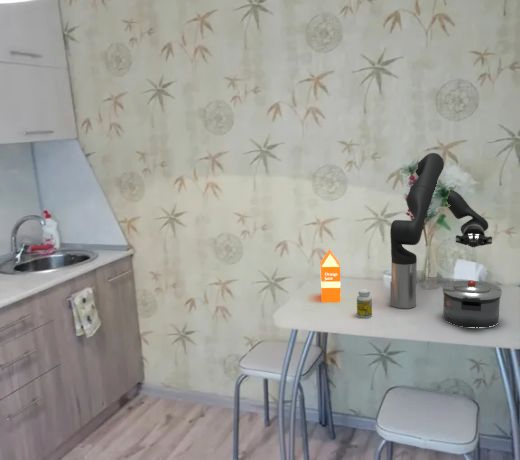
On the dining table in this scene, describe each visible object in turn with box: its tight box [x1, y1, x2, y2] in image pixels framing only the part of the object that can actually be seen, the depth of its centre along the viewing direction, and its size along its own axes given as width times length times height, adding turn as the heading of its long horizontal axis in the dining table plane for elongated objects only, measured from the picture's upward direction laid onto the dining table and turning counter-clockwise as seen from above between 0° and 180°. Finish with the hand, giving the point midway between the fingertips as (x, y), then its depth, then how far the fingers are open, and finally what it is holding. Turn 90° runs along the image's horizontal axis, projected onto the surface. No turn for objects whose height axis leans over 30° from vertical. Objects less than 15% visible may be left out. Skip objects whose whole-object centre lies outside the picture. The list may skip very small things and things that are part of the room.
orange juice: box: [320, 248, 342, 303], centre depth 203 cm, size 8×9×20 cm
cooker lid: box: [442, 279, 503, 302], centre depth 173 cm, size 19×21×4 cm
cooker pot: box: [442, 291, 501, 328], centre depth 175 cm, size 18×22×10 cm
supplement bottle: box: [356, 288, 373, 319], centre depth 183 cm, size 5×5×10 cm
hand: (473, 244), depth 176 cm, fingers closed
